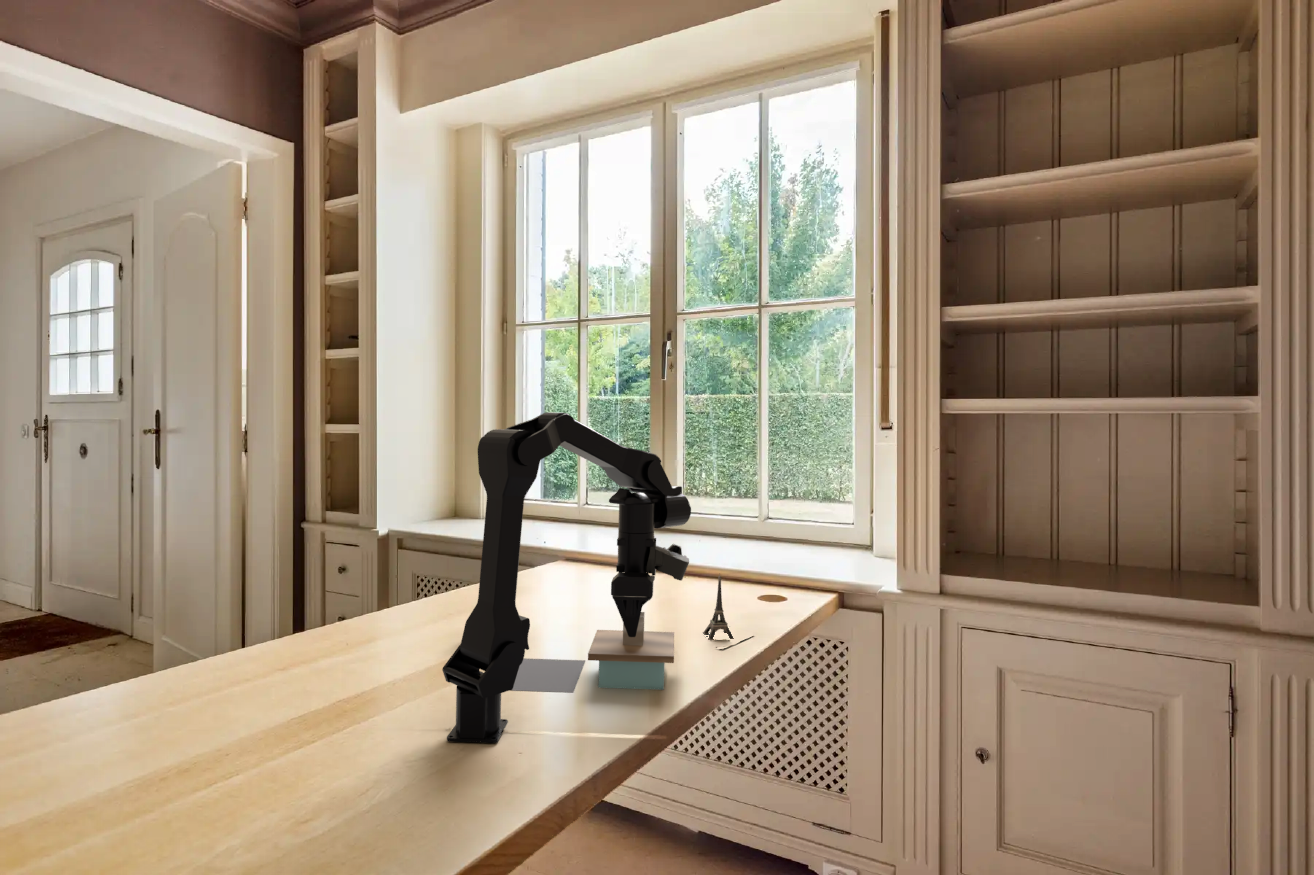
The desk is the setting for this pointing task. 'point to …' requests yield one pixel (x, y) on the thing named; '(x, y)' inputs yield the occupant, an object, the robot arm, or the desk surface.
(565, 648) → the desk surface
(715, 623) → the eiffel tower figurine
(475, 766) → the desk surface
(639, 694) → the desk surface
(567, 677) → the mat
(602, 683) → the dish
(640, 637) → the lid
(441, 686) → the desk surface
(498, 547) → the robot arm
